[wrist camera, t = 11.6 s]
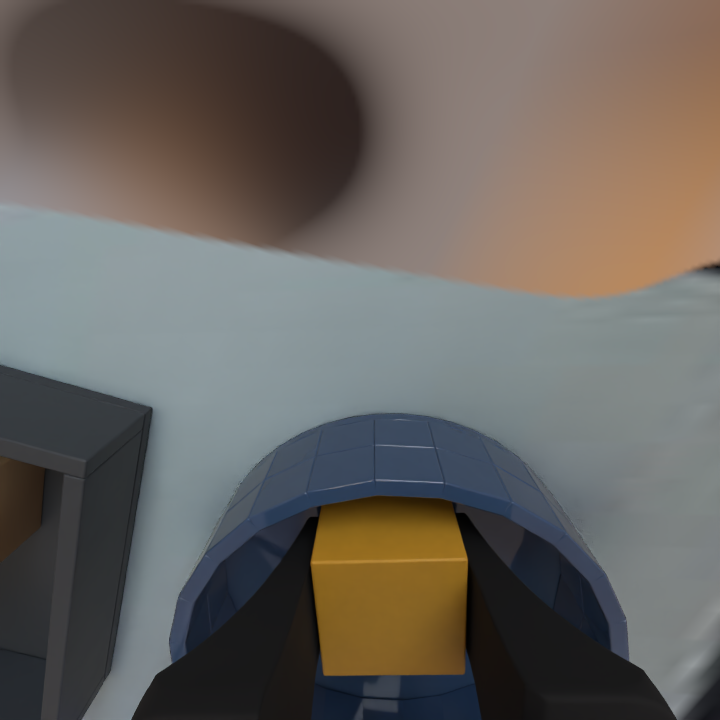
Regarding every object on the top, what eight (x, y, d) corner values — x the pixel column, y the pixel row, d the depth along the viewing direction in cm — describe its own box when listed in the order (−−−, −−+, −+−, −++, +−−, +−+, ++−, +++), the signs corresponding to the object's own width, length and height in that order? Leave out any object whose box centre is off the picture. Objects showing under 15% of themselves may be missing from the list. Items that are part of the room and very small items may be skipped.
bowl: (486, 724, 19) (516, 852, 15) (191, 650, 18) (141, 765, 14) (632, 473, 15) (723, 560, 11) (259, 365, 14) (216, 417, 10)
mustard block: (443, 565, 15) (465, 676, 12) (335, 567, 16) (322, 677, 12) (443, 470, 14) (468, 559, 10) (326, 474, 14) (309, 562, 11)
